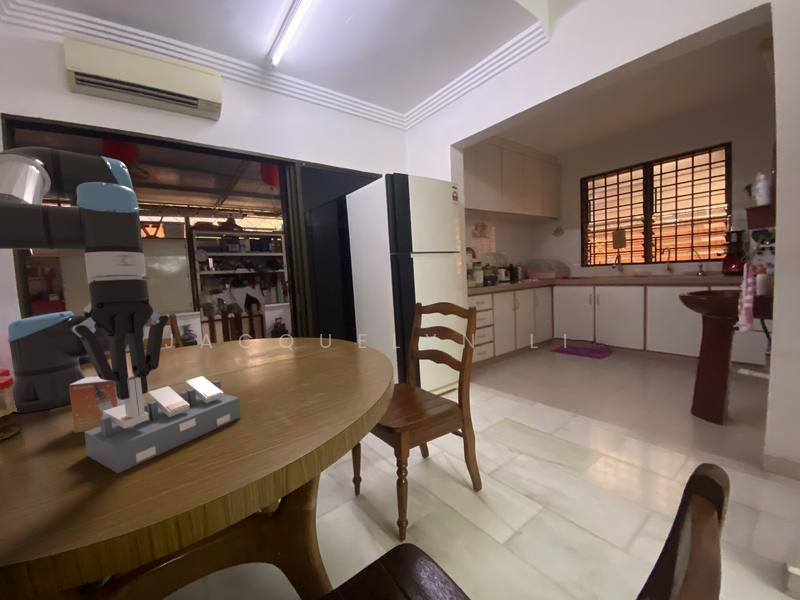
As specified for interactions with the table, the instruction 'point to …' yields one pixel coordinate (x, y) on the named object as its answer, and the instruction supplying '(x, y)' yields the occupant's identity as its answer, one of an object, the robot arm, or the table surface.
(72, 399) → the small box
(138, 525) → the table surface
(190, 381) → the rocker
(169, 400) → the rocker
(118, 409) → the rocker
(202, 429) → the console
